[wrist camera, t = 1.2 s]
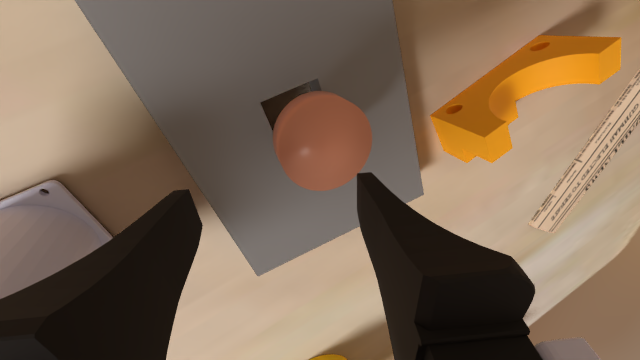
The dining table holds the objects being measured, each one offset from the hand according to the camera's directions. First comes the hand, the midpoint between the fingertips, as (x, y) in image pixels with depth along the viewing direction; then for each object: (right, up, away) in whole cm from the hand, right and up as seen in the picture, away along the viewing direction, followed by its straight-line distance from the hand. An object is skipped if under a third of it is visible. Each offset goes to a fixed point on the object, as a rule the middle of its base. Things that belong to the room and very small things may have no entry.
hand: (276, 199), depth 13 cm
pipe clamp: (+18, +9, +15) cm, 25 cm away
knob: (+1, +5, +6) cm, 8 cm away
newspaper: (+36, +5, +25) cm, 44 cm away
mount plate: (0, +6, +9) cm, 11 cm away
